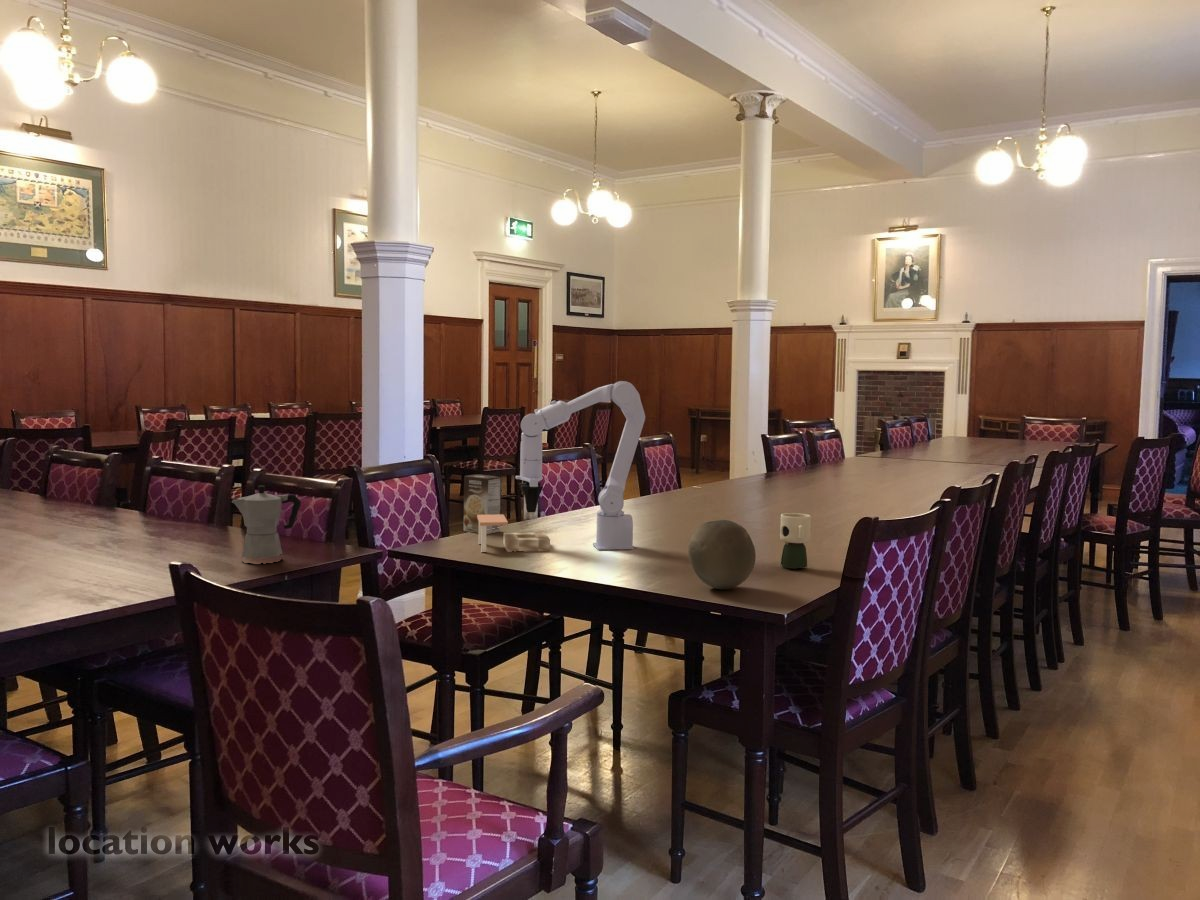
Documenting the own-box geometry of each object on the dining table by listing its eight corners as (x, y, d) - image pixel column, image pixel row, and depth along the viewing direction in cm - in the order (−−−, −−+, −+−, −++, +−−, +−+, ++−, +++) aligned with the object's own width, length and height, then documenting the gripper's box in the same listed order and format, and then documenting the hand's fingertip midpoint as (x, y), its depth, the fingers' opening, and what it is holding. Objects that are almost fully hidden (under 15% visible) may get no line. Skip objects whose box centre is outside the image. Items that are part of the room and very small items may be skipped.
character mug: (773, 563, 224) (775, 511, 223) (802, 564, 225) (804, 511, 224) (785, 573, 213) (787, 518, 212) (815, 573, 214) (817, 518, 213)
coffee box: (462, 531, 262) (462, 475, 261) (476, 528, 268) (477, 473, 267) (486, 534, 258) (487, 478, 256) (501, 531, 263) (501, 476, 262)
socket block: (544, 543, 246) (544, 532, 245) (549, 551, 235) (550, 539, 235) (503, 543, 243) (503, 532, 243) (507, 551, 233) (507, 540, 232)
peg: (536, 517, 242) (536, 487, 241) (538, 519, 239) (539, 489, 238) (522, 517, 241) (523, 487, 241) (524, 519, 238) (525, 489, 237)
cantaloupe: (694, 580, 204) (696, 514, 203) (758, 585, 200) (760, 518, 199) (681, 594, 190) (683, 523, 189) (749, 600, 186) (752, 527, 185)
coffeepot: (233, 566, 209) (232, 488, 207) (231, 558, 217) (230, 484, 216) (303, 562, 215) (303, 486, 214) (298, 554, 224) (298, 482, 222)
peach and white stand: (503, 543, 244) (503, 514, 244) (507, 552, 232) (507, 522, 231) (476, 543, 243) (477, 514, 242) (479, 553, 230) (480, 522, 230)
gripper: (513, 457, 245) (512, 507, 246) (518, 462, 231) (517, 515, 232) (539, 457, 246) (538, 506, 247) (546, 462, 232) (545, 515, 233)
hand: (530, 511), depth 240 cm, fingers closed on peg, 4 cm apart
